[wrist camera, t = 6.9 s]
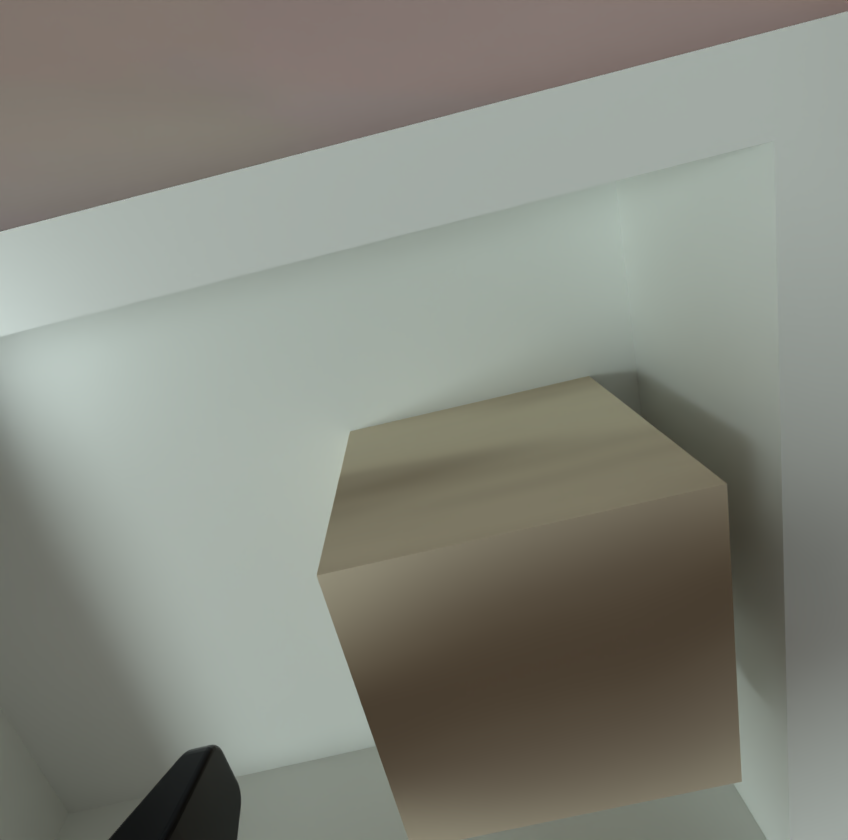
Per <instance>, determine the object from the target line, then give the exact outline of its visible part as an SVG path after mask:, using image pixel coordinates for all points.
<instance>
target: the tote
mask: <svg viewBox="0 0 848 840" xmlns="http://www.w3.org/2000/svg"><path fill="white" fill-rule="evenodd" d="M587 376H590V377H591V378H592V379H594V380H595V381H596V382H597V383H599V384H600V385H601V386H603V387H604V388H605V389H606V390H608V391H609V392H610V393H612V394H613V395H614V396H615V397H617V398H618V399H619V400H621V401H622V402H623V403H624V404H626V405H627V406H628V407H630V408H631V409H632V410H633V411H635V412H636V413H637V414H638V415H640V416H641V417H642V418H644V419H645V420H646V421H647V422H649V423H650V424H651V425H653V426H654V427H655V428H656V429H658V430H659V431H660V432H662V433H663V434H664V435H665V436H667V437H668V438H669V439H671V440H672V441H673V442H674V443H676V444H677V445H678V446H680V447H681V448H682V449H683V450H685V451H686V452H687V453H688V454H690V455H691V456H692V457H694V458H695V459H696V460H697V461H699V462H700V463H701V464H703V465H704V466H705V467H706V468H708V469H709V470H710V471H712V472H713V473H714V474H715V475H717V476H718V477H719V478H721V479H722V480H723V481H724V482H726V483H727V492H728V512H729V532H730V552H731V572H732V592H733V612H734V632H735V653H736V673H737V693H738V713H739V733H740V753H741V773H742V782H738V783H733V784H728V785H723V786H718V787H713V788H709V789H704V790H699V791H694V792H689V793H684V794H680V795H675V796H670V797H665V798H660V799H655V800H651V801H646V802H641V803H636V804H631V805H626V806H621V807H617V808H612V809H607V810H602V811H597V812H592V813H588V814H583V815H578V816H573V817H568V818H563V819H559V820H554V821H549V822H544V823H539V824H534V825H530V826H525V827H520V828H515V829H510V830H505V831H500V832H496V833H491V834H486V835H481V836H476V837H471V838H467V839H462V840H848V11H847V12H843V13H839V14H835V15H832V16H828V17H824V18H820V19H816V20H812V21H809V22H805V23H801V24H797V25H793V26H789V27H785V28H782V29H778V30H774V31H770V32H766V33H762V34H759V35H755V36H751V37H747V38H743V39H739V40H735V41H732V42H728V43H724V44H720V45H716V46H712V47H709V48H705V49H701V50H697V51H693V52H689V53H686V54H682V55H678V56H674V57H670V58H666V59H662V60H659V61H655V62H651V63H647V64H643V65H639V66H636V67H632V68H628V69H624V70H620V71H616V72H612V73H609V74H605V75H601V76H597V77H593V78H589V79H586V80H582V81H578V82H574V83H570V84H566V85H563V86H559V87H555V88H551V89H547V90H543V91H539V92H536V93H532V94H528V95H524V96H520V97H516V98H513V99H509V100H505V101H501V102H497V103H493V104H489V105H486V106H482V107H478V108H474V109H470V110H466V111H463V112H459V113H455V114H451V115H447V116H443V117H439V118H436V119H432V120H428V121H424V122H420V123H416V124H413V125H409V126H405V127H401V128H397V129H393V130H390V131H386V132H382V133H378V134H374V135H370V136H366V137H363V138H359V139H355V140H351V141H347V142H343V143H340V144H336V145H332V146H328V147H324V148H320V149H316V150H313V151H309V152H305V153H301V154H297V155H293V156H290V157H286V158H282V159H278V160H274V161H270V162H267V163H263V164H259V165H255V166H251V167H247V168H243V169H240V170H236V171H232V172H228V173H224V174H220V175H217V176H213V177H209V178H205V179H201V180H197V181H193V182H190V183H186V184H182V185H178V186H174V187H170V188H167V189H163V190H159V191H155V192H151V193H147V194H143V195H140V196H136V197H132V198H128V199H124V200H120V201H117V202H113V203H109V204H105V205H101V206H97V207H94V208H90V209H86V210H82V211H78V212H74V213H70V214H67V215H63V216H59V217H55V218H51V219H47V220H44V221H40V222H36V223H32V224H28V225H24V226H20V227H17V228H13V229H9V230H5V231H1V232H0V840H108V839H109V838H110V837H111V836H112V835H113V833H114V832H115V831H116V830H117V829H118V828H119V827H120V825H121V824H122V823H123V822H124V821H125V820H126V818H127V817H128V816H129V815H130V814H131V813H132V812H133V810H134V809H135V808H136V807H137V806H138V805H139V804H140V802H141V801H142V800H143V799H144V798H145V797H146V796H147V794H148V793H149V792H150V791H151V790H152V789H153V787H154V786H155V785H156V784H157V783H158V782H159V781H160V779H161V778H162V777H163V776H164V775H165V774H166V773H167V771H168V770H169V769H170V768H171V767H172V766H173V764H174V763H175V762H176V761H177V760H178V759H179V758H180V757H181V756H182V755H183V754H184V753H185V752H186V751H188V750H190V749H194V748H198V747H203V746H207V745H212V744H213V745H217V746H219V747H220V748H221V750H222V751H223V753H224V755H225V757H226V759H227V761H228V763H229V765H230V767H231V769H232V771H233V774H234V776H235V778H236V780H237V782H238V784H239V787H240V791H241V811H240V819H239V828H238V837H237V840H409V839H408V836H407V834H406V831H405V828H404V825H403V822H402V819H401V816H400V813H399V811H398V808H397V805H396V802H395V799H394V796H393V793H392V791H391V788H390V785H389V782H388V779H387V776H386V773H385V770H384V768H383V765H382V762H381V759H380V756H379V753H378V750H377V748H376V745H375V742H374V739H373V736H372V733H371V730H370V728H369V725H368V722H367V719H366V716H365V713H364V710H363V707H362V705H361V702H360V699H359V696H358V693H357V690H356V687H355V685H354V682H353V679H352V676H351V673H350V670H349V667H348V664H347V662H346V659H345V656H344V653H343V650H342V647H341V644H340V642H339V639H338V636H337V633H336V630H335V627H334V624H333V622H332V619H331V616H330V613H329V610H328V607H327V604H326V601H325V599H324V596H323V593H322V590H321V587H320V584H319V581H318V579H317V571H318V567H319V563H320V559H321V554H322V550H323V546H324V541H325V537H326V533H327V528H328V524H329V520H330V515H331V511H332V507H333V503H334V498H335V494H336V490H337V485H338V481H339V477H340V472H341V468H342V464H343V459H344V455H345V451H346V447H347V442H348V438H349V434H350V431H354V430H359V429H363V428H367V427H372V426H376V425H380V424H384V423H389V422H393V421H397V420H402V419H406V418H410V417H415V416H419V415H423V414H427V413H432V412H436V411H440V410H445V409H449V408H453V407H458V406H462V405H466V404H470V403H475V402H479V401H483V400H488V399H492V398H496V397H501V396H505V395H509V394H513V393H518V392H522V391H526V390H531V389H535V388H539V387H544V386H548V385H552V384H556V383H561V382H565V381H569V380H574V379H578V378H582V377H587Z"/></svg>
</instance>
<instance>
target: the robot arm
mask: <svg viewBox="0 0 848 840" xmlns="http://www.w3.org/2000/svg"><path fill="white" fill-rule="evenodd" d="M240 811H241V791H240V787H239V784H238V782H237V780H236V778H235V776H234V774H233V771H232V769H231V767H230V765H229V763H228V761H227V759H226V757H225V755H224V753H223V751H222V750H221V748H220V747H219V746H217V745H213V744H212V745H207V746H203V747H198V748H194V749H190V750H188V751H186V752H185V753H184V754H183V755H182V756H181V757H180V758H179V759H178V760H177V761H176V762H175V763H174V764H173V766H172V767H171V768H170V769H169V770H168V771H167V773H166V774H165V775H164V776H163V777H162V778H161V779H160V781H159V782H158V783H157V784H156V785H155V786H154V787H153V789H152V790H151V791H150V792H149V793H148V794H147V796H146V797H145V798H144V799H143V800H142V801H141V802H140V804H139V805H138V806H137V807H136V808H135V809H134V810H133V812H132V813H131V814H130V815H129V816H128V817H127V818H126V820H125V821H124V822H123V823H122V824H121V825H120V827H119V828H118V829H117V830H116V831H115V832H114V833H113V835H112V836H111V837H110V838H109V839H108V840H237V837H238V828H239V819H240Z"/></svg>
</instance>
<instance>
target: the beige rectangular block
mask: <svg viewBox="0 0 848 840" xmlns="http://www.w3.org/2000/svg"><path fill="white" fill-rule="evenodd" d="M317 579H318V581H319V584H320V587H321V590H322V593H323V596H324V599H325V601H326V604H327V607H328V610H329V613H330V616H331V619H332V622H333V624H334V627H335V630H336V633H337V636H338V639H339V642H340V644H341V647H342V650H343V653H344V656H345V659H346V662H347V664H348V667H349V670H350V673H351V676H352V679H353V682H354V685H355V687H356V690H357V693H358V696H359V699H360V702H361V705H362V707H363V710H364V713H365V716H366V719H367V722H368V725H369V728H370V730H371V733H372V736H373V739H374V742H375V745H376V748H377V750H378V753H379V756H380V759H381V762H382V765H383V768H384V770H385V773H386V776H387V779H388V782H389V785H390V788H391V791H392V793H393V796H394V799H395V802H396V805H397V808H398V811H399V813H400V816H401V819H402V822H403V825H404V828H405V831H406V834H407V836H408V839H409V840H462V839H467V838H471V837H476V836H481V835H486V834H491V833H496V832H500V831H505V830H510V829H515V828H520V827H525V826H530V825H534V824H539V823H544V822H549V821H554V820H559V819H563V818H568V817H573V816H578V815H583V814H588V813H592V812H597V811H602V810H607V809H612V808H617V807H621V806H626V805H631V804H636V803H641V802H646V801H651V800H655V799H660V798H665V797H670V796H675V795H680V794H684V793H689V792H694V791H699V790H704V789H709V788H713V787H718V786H723V785H728V784H733V783H738V782H742V773H741V753H740V733H739V713H738V693H737V673H736V653H735V632H734V612H733V592H732V572H731V552H730V532H729V512H728V492H727V483H726V482H724V481H723V480H722V479H721V478H719V477H718V476H717V475H715V474H714V473H713V472H712V471H710V470H709V469H708V468H706V467H705V466H704V465H703V464H701V463H700V462H699V461H697V460H696V459H695V458H694V457H692V456H691V455H690V454H688V453H687V452H686V451H685V450H683V449H682V448H681V447H680V446H678V445H677V444H676V443H674V442H673V441H672V440H671V439H669V438H668V437H667V436H665V435H664V434H663V433H662V432H660V431H659V430H658V429H656V428H655V427H654V426H653V425H651V424H650V423H649V422H647V421H646V420H645V419H644V418H642V417H641V416H640V415H638V414H637V413H636V412H635V411H633V410H632V409H631V408H630V407H628V406H627V405H626V404H624V403H623V402H622V401H621V400H619V399H618V398H617V397H615V396H614V395H613V394H612V393H610V392H609V391H608V390H606V389H605V388H604V387H603V386H601V385H600V384H599V383H597V382H596V381H595V380H594V379H592V378H591V377H590V376H587V377H582V378H578V379H574V380H569V381H565V382H561V383H556V384H552V385H548V386H544V387H539V388H535V389H531V390H526V391H522V392H518V393H513V394H509V395H505V396H501V397H496V398H492V399H488V400H483V401H479V402H475V403H470V404H466V405H462V406H458V407H453V408H449V409H445V410H440V411H436V412H432V413H427V414H423V415H419V416H415V417H410V418H406V419H402V420H397V421H393V422H389V423H384V424H380V425H376V426H372V427H367V428H363V429H359V430H354V431H350V434H349V438H348V442H347V447H346V451H345V455H344V459H343V464H342V468H341V472H340V477H339V481H338V485H337V490H336V494H335V498H334V503H333V507H332V511H331V515H330V520H329V524H328V528H327V533H326V537H325V541H324V546H323V550H322V554H321V559H320V563H319V567H318V571H317Z"/></svg>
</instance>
